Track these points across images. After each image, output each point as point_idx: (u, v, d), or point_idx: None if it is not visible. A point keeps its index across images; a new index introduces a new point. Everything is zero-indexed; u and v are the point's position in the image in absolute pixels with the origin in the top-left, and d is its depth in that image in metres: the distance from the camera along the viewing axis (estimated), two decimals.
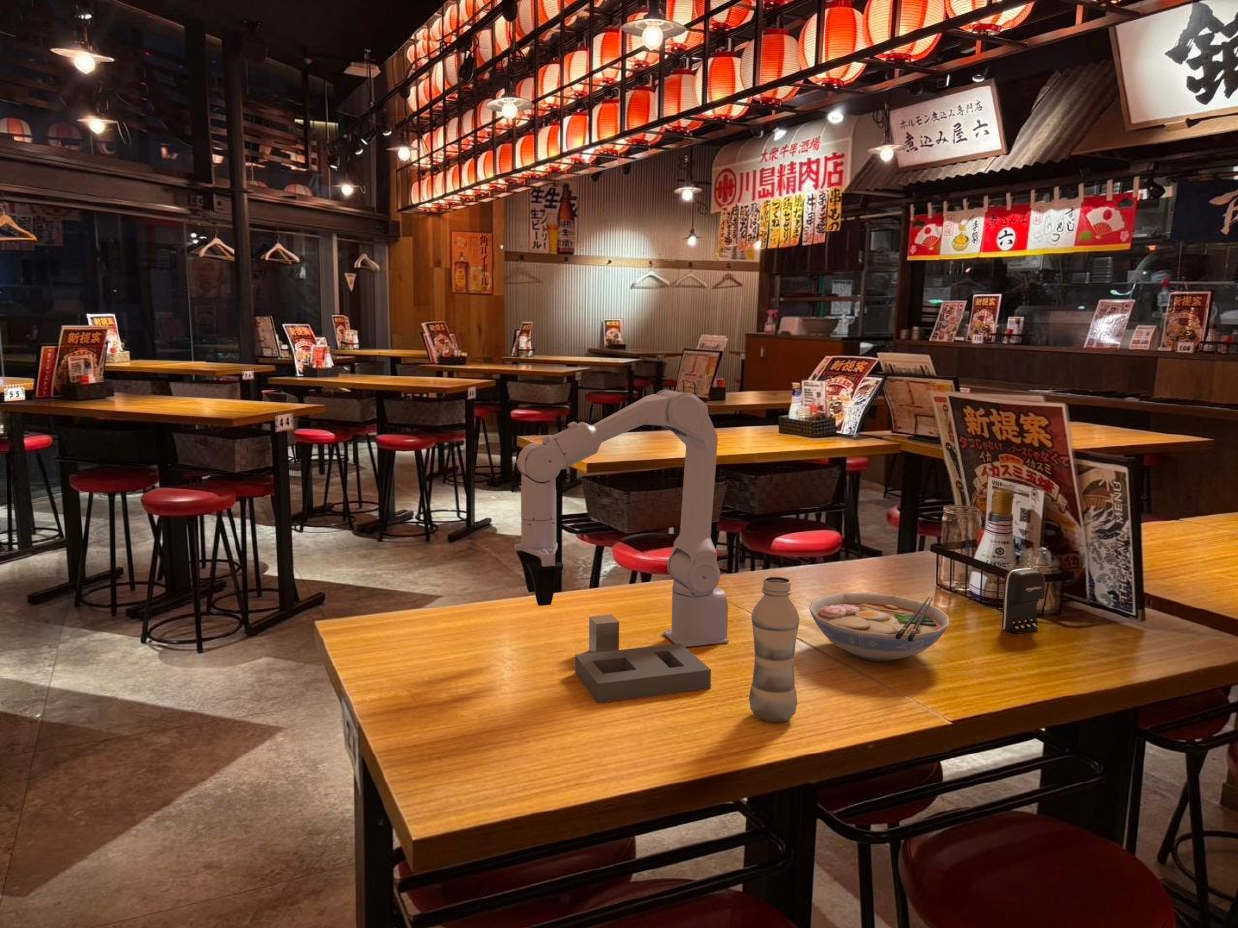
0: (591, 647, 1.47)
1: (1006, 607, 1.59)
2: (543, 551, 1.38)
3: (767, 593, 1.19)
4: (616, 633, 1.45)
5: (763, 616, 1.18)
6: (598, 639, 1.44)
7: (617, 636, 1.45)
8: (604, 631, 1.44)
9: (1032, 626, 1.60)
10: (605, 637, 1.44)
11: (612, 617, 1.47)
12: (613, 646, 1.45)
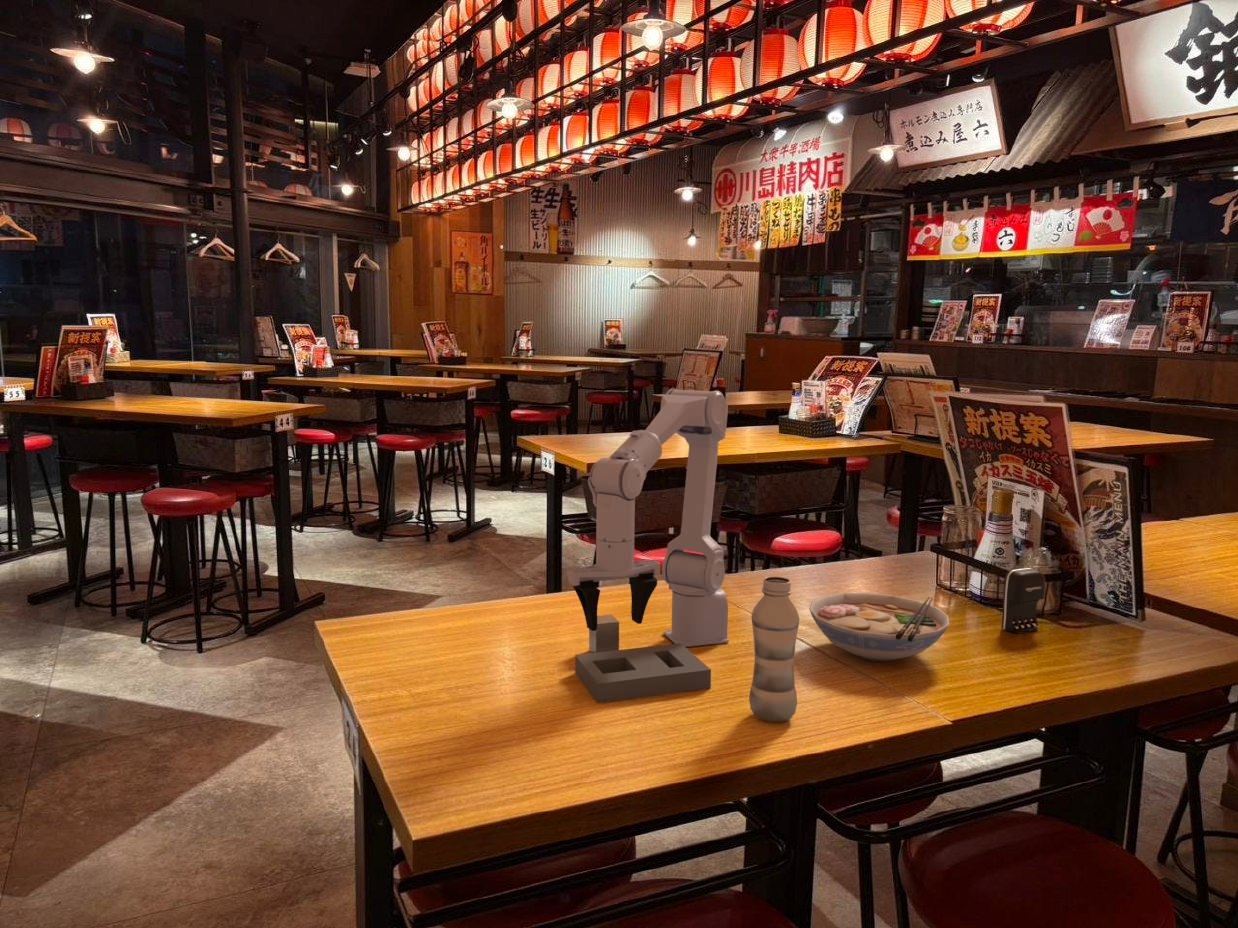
0: (591, 647, 1.47)
1: (1006, 607, 1.59)
2: (585, 570, 1.29)
3: (767, 593, 1.19)
4: (616, 633, 1.45)
5: (763, 616, 1.18)
6: (598, 639, 1.44)
7: (617, 636, 1.45)
8: (604, 631, 1.44)
9: (1032, 626, 1.60)
10: (605, 637, 1.44)
11: (612, 617, 1.47)
12: (613, 646, 1.45)
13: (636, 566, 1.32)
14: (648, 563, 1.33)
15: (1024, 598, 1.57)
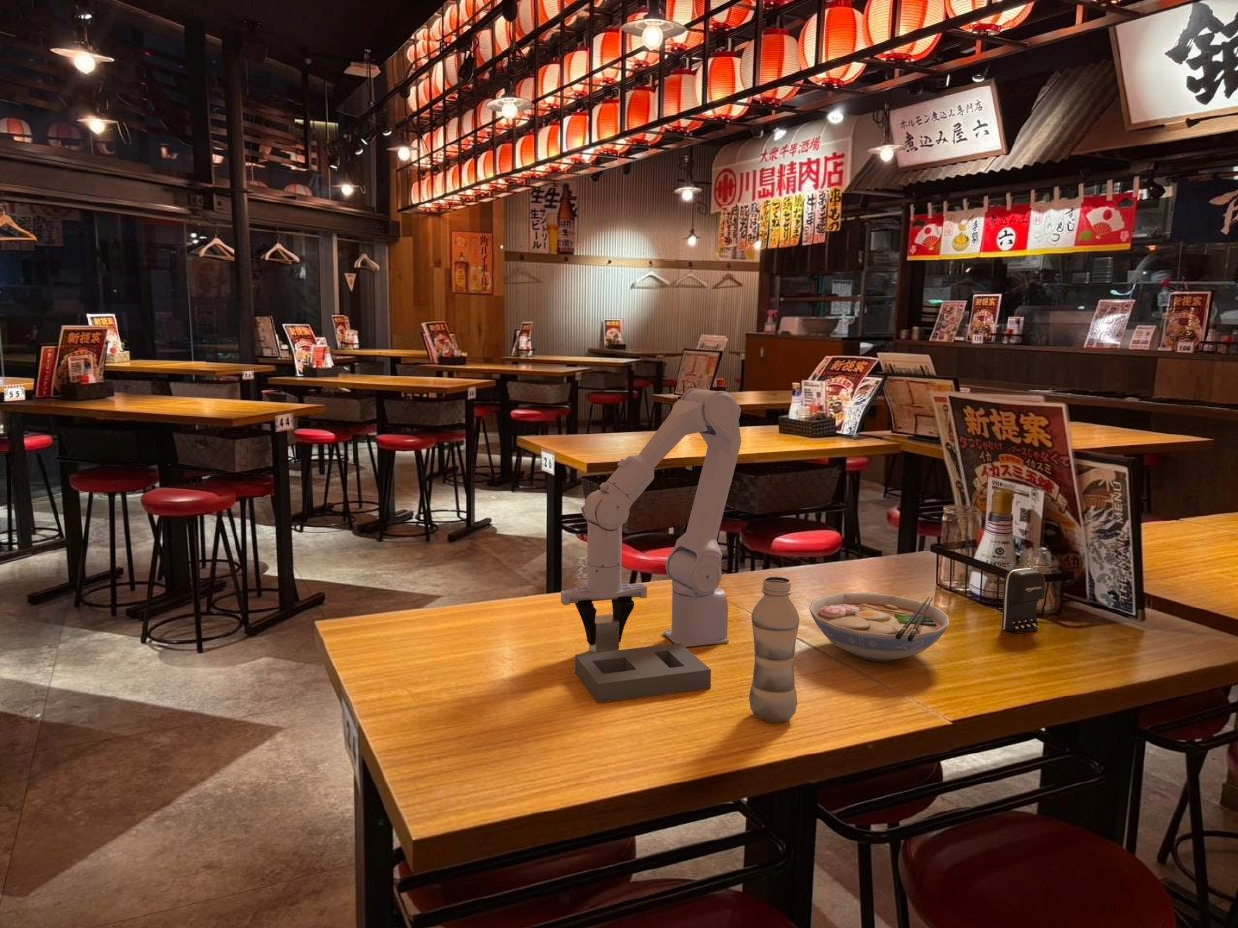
0: (591, 646, 1.47)
1: (1006, 607, 1.59)
2: (576, 591, 1.44)
3: (767, 593, 1.19)
4: (616, 633, 1.45)
5: (763, 616, 1.18)
6: (598, 639, 1.44)
7: (617, 636, 1.45)
8: (604, 630, 1.44)
9: (1032, 626, 1.60)
10: (605, 637, 1.44)
11: (612, 617, 1.47)
12: (613, 645, 1.45)
13: (624, 589, 1.46)
14: (636, 586, 1.47)
15: (1024, 598, 1.57)
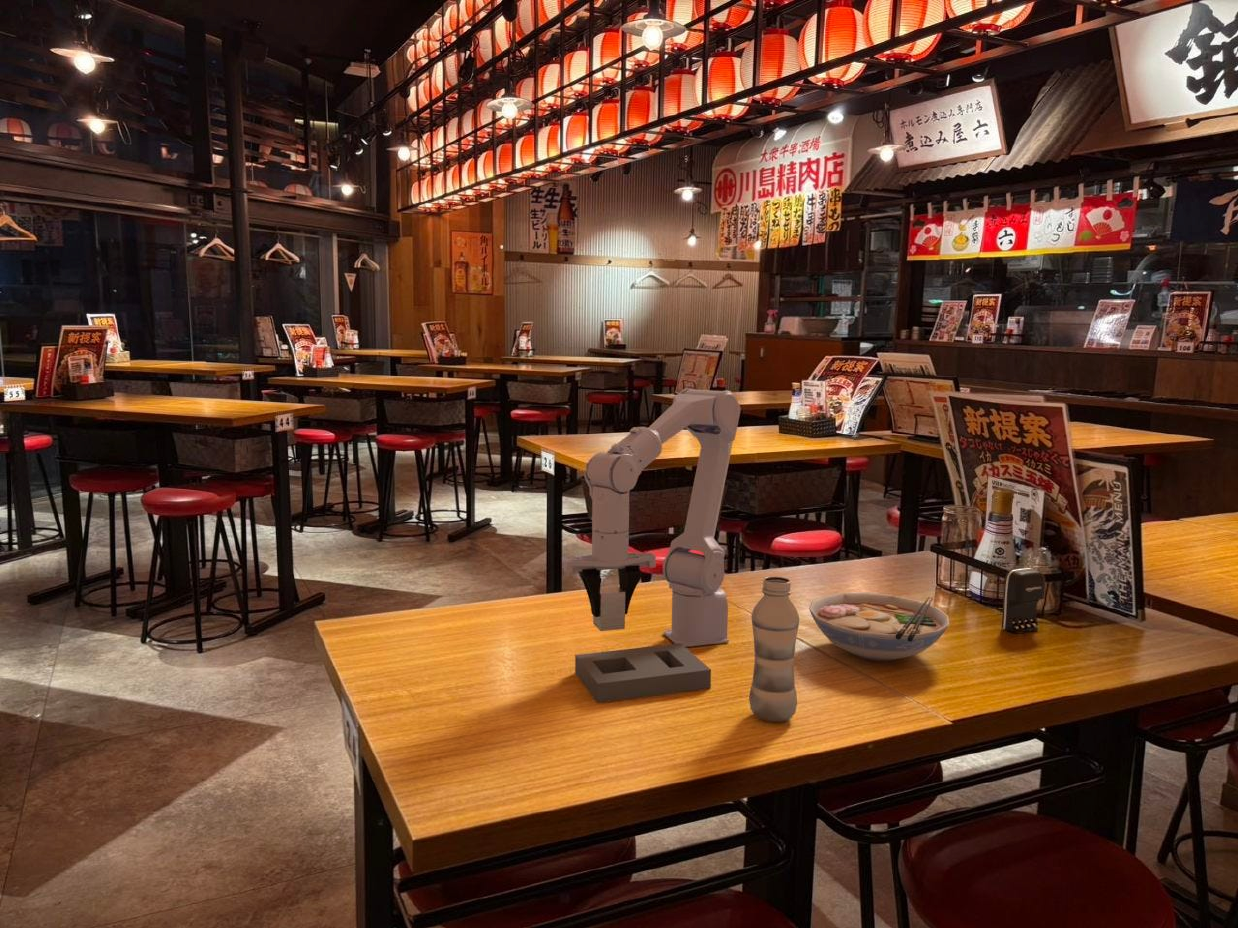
0: (595, 619, 1.38)
1: (1006, 607, 1.59)
2: None
3: (767, 593, 1.19)
4: (622, 604, 1.36)
5: (763, 616, 1.18)
6: (602, 610, 1.35)
7: (623, 607, 1.36)
8: (610, 601, 1.35)
9: (1032, 626, 1.60)
10: (610, 608, 1.35)
11: (618, 587, 1.38)
12: (619, 618, 1.36)
13: (631, 558, 1.37)
14: (644, 555, 1.38)
15: (1024, 598, 1.57)
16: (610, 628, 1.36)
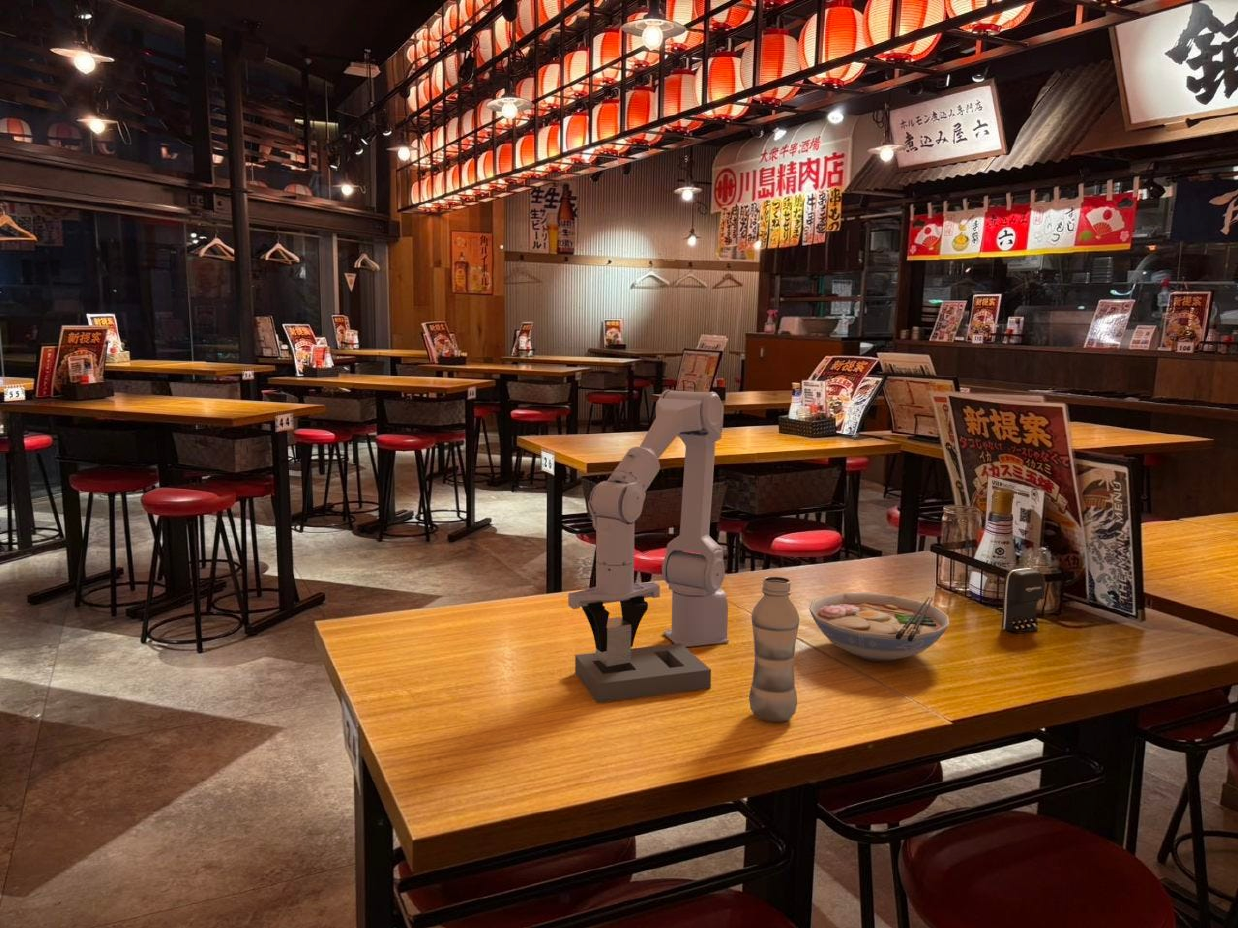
0: (599, 653, 1.33)
1: (1006, 607, 1.59)
2: (585, 593, 1.30)
3: (767, 593, 1.19)
4: (628, 637, 1.32)
5: (763, 616, 1.18)
6: (609, 645, 1.30)
7: (629, 640, 1.32)
8: (616, 635, 1.31)
9: (1032, 626, 1.60)
10: (616, 642, 1.31)
11: (621, 620, 1.34)
12: (625, 651, 1.32)
13: (636, 588, 1.33)
14: (648, 585, 1.34)
15: (1024, 598, 1.57)
16: (616, 662, 1.31)
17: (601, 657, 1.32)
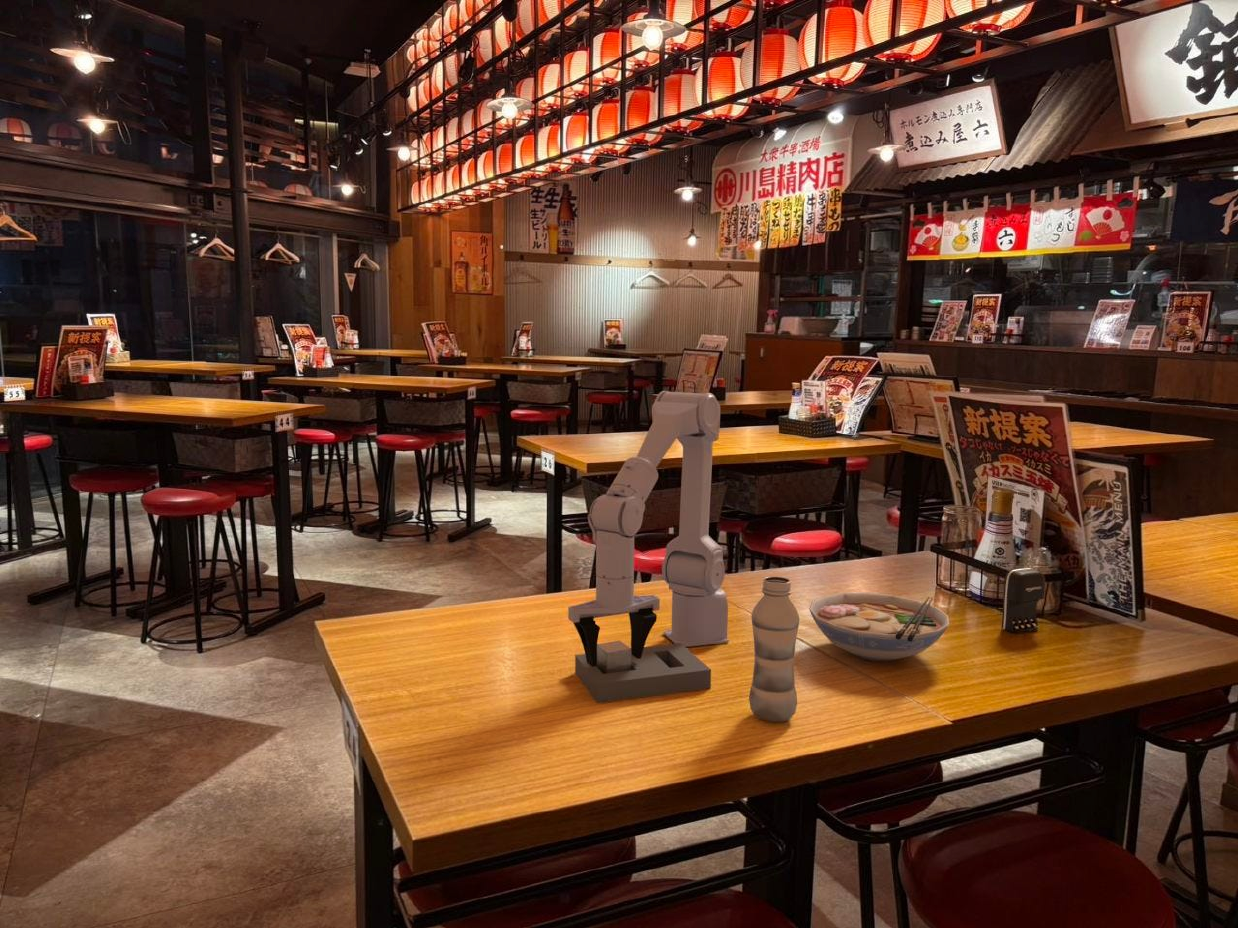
0: None
1: (1006, 607, 1.59)
2: None
3: (767, 593, 1.19)
4: (628, 661, 1.32)
5: (763, 616, 1.18)
6: (609, 669, 1.31)
7: (629, 664, 1.32)
8: (616, 659, 1.31)
9: (1032, 626, 1.60)
10: (617, 666, 1.31)
11: (622, 643, 1.34)
12: None
13: (636, 601, 1.33)
14: (647, 598, 1.34)
15: (1024, 598, 1.57)
16: None
17: None
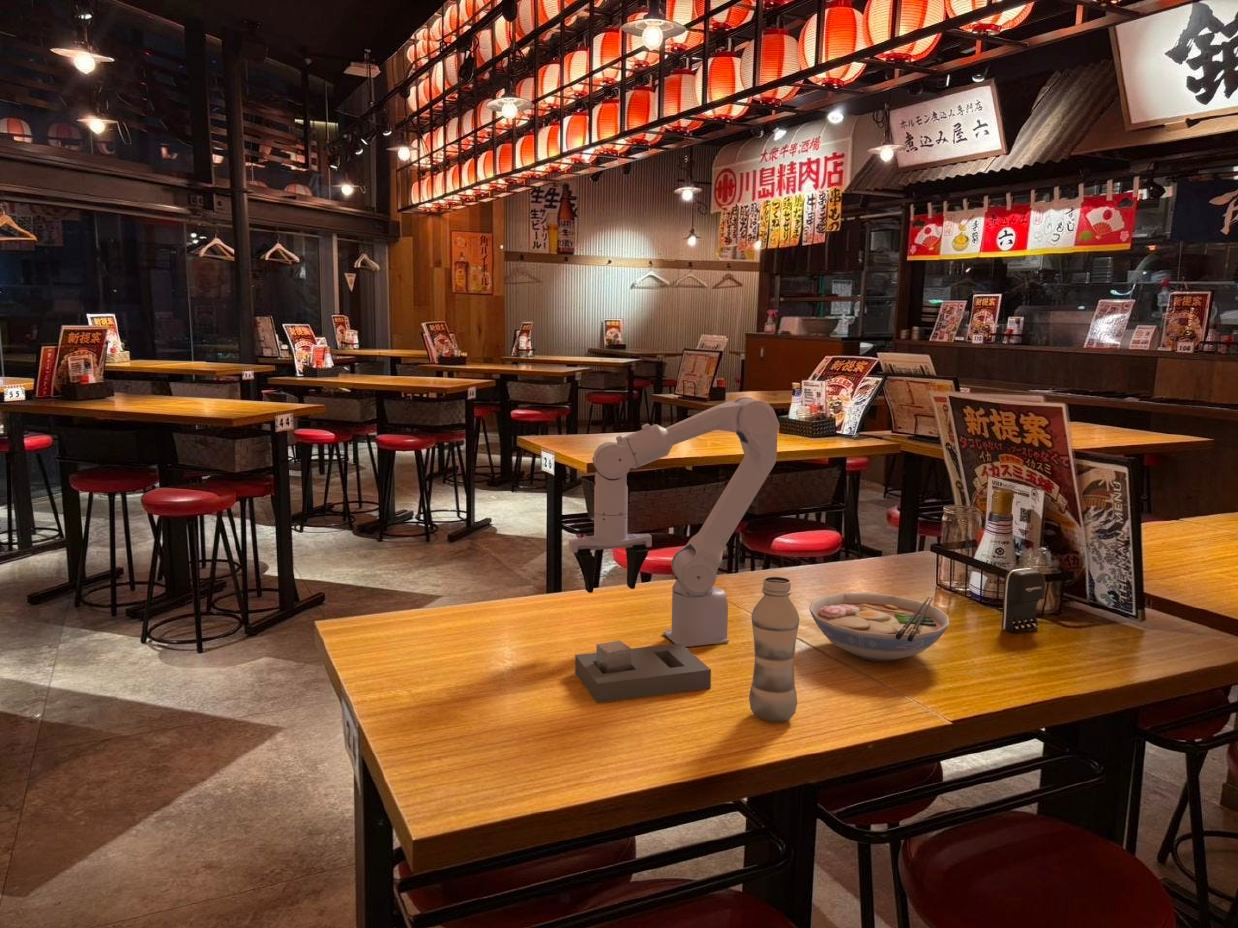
0: None
1: (1006, 607, 1.59)
2: None
3: (767, 593, 1.19)
4: (628, 661, 1.32)
5: (763, 616, 1.18)
6: (609, 669, 1.31)
7: (629, 664, 1.32)
8: (616, 659, 1.31)
9: (1032, 626, 1.60)
10: (617, 666, 1.31)
11: (622, 643, 1.34)
12: None
13: (630, 538, 1.51)
14: (641, 536, 1.51)
15: (1024, 598, 1.57)
16: None
17: None
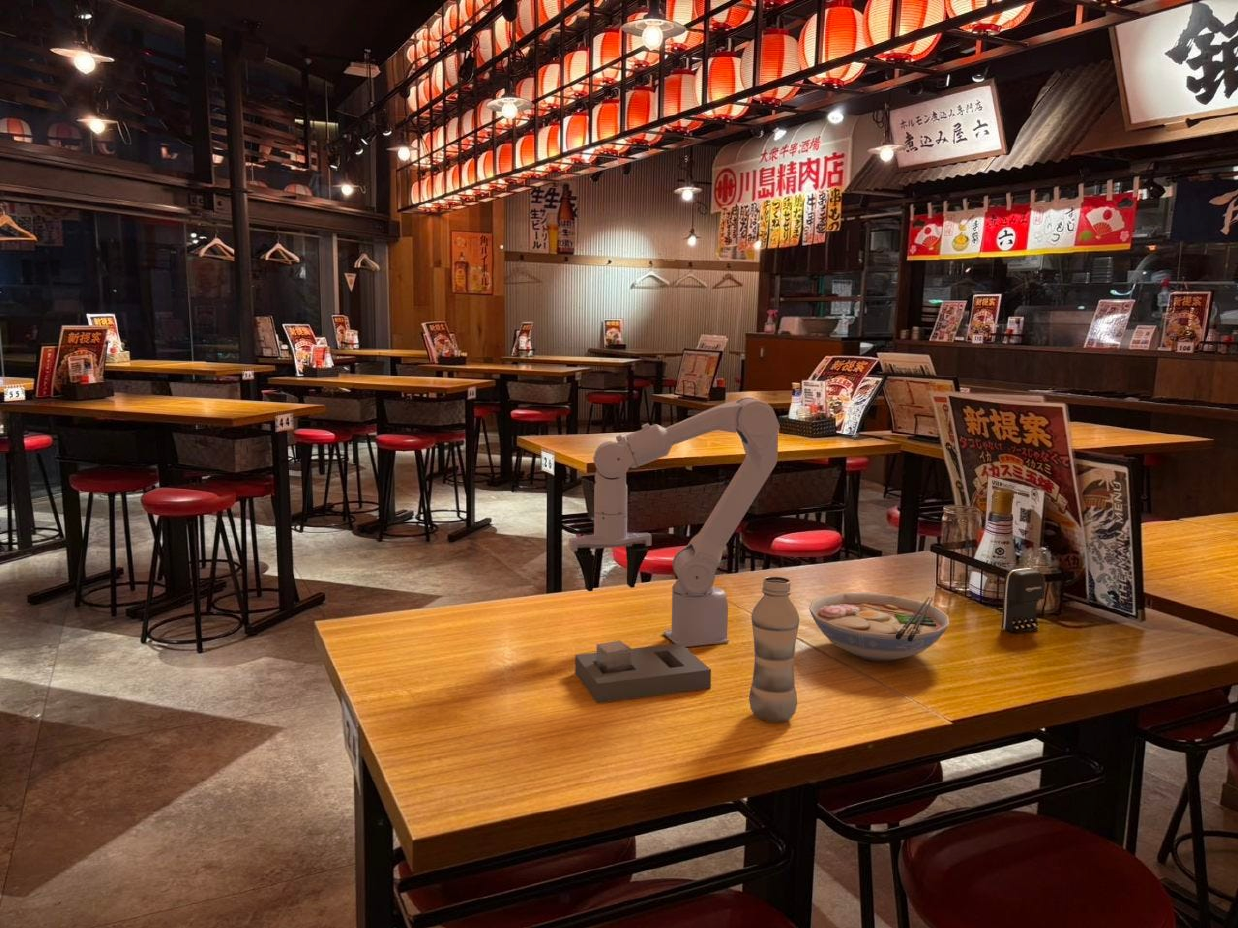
0: None
1: (1006, 607, 1.59)
2: None
3: (767, 593, 1.19)
4: (628, 661, 1.32)
5: (763, 616, 1.18)
6: (609, 669, 1.31)
7: (629, 664, 1.32)
8: (616, 659, 1.31)
9: (1032, 626, 1.60)
10: (617, 666, 1.31)
11: (622, 643, 1.34)
12: None
13: (630, 537, 1.51)
14: (641, 535, 1.52)
15: (1024, 598, 1.57)
16: None
17: None
